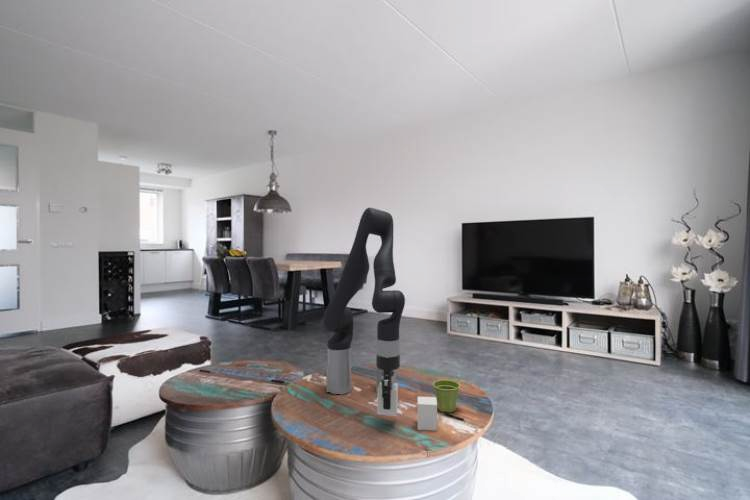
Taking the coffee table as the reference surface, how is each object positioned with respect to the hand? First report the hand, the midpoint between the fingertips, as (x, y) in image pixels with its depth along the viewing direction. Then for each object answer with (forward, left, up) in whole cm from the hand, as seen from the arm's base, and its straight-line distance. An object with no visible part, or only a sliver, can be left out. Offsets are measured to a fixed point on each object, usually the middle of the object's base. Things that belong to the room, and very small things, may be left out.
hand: (387, 404), depth 121 cm
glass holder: (-2, +31, -7) cm, 32 cm away
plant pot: (+20, +13, -7) cm, 24 cm away
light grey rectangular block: (+13, 0, -6) cm, 14 cm away
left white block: (0, 0, -2) cm, 2 cm away
